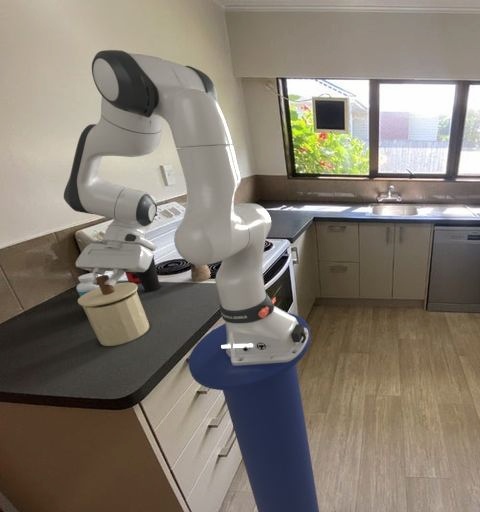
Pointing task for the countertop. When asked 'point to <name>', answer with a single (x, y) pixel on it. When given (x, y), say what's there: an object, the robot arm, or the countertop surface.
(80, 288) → the pill bottle
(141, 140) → the robot arm
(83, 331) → the countertop surface
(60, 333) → the countertop surface
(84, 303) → the lid
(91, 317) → the beige canister
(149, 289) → the drinking cup
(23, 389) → the countertop surface
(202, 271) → the figurine
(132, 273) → the canned food
